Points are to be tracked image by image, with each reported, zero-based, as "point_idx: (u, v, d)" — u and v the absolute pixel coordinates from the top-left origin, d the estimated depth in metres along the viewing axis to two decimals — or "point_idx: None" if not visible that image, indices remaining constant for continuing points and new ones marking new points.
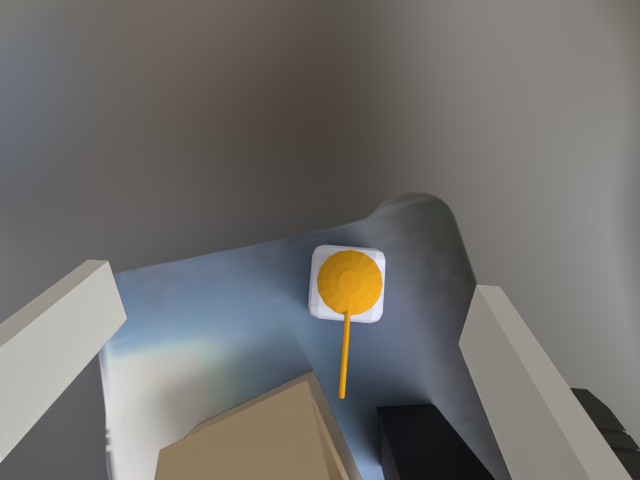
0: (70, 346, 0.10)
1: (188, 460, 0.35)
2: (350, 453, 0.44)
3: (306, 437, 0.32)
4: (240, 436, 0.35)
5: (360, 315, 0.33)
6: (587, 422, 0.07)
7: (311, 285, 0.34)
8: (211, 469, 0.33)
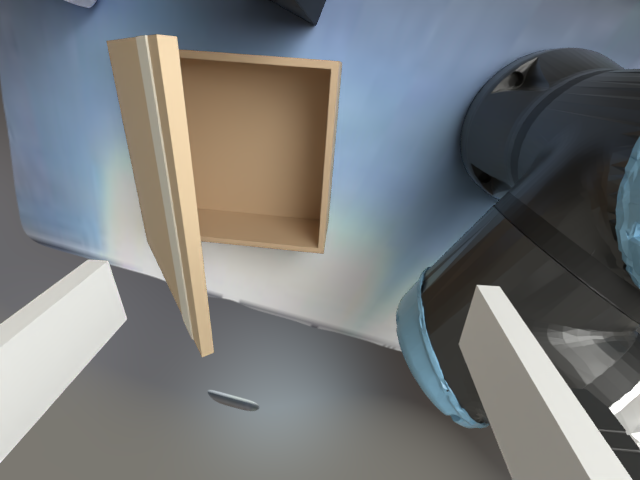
0: (70, 346, 0.10)
1: (145, 217, 0.31)
2: None
3: (120, 61, 0.23)
4: (133, 153, 0.28)
5: None
6: (588, 422, 0.07)
7: None
8: (144, 196, 0.29)
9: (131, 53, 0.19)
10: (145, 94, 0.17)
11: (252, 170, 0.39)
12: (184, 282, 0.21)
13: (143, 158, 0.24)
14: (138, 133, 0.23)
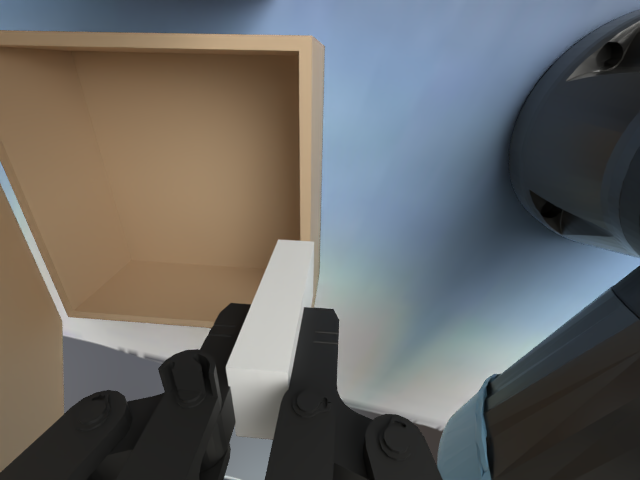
0: None
1: None
2: None
3: None
4: None
5: None
6: (298, 322, 0.09)
7: None
8: None
9: None
10: None
11: (206, 209, 0.27)
12: None
13: None
14: None
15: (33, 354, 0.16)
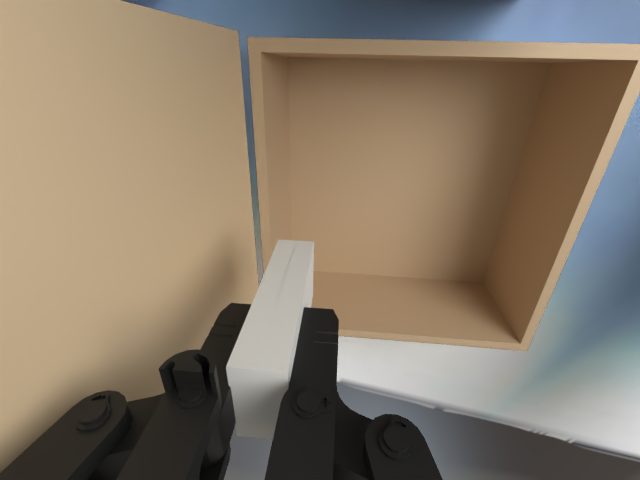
0: None
1: None
2: None
3: None
4: None
5: None
6: (298, 322, 0.09)
7: None
8: None
9: None
10: None
11: (388, 218, 0.27)
12: None
13: None
14: None
15: None
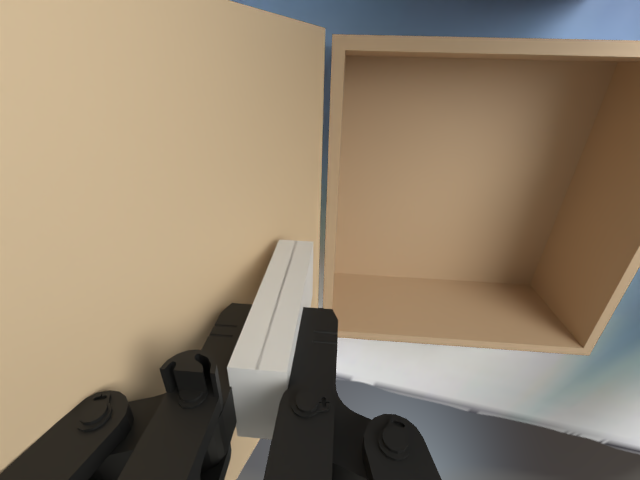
0: None
1: None
2: None
3: None
4: None
5: None
6: (297, 322, 0.09)
7: None
8: None
9: None
10: None
11: (437, 220, 0.26)
12: None
13: None
14: None
15: None
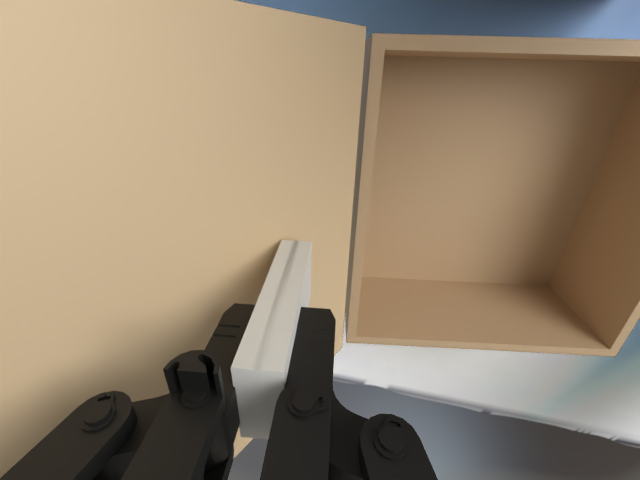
0: None
1: None
2: None
3: None
4: None
5: None
6: (295, 322, 0.09)
7: None
8: None
9: None
10: None
11: (457, 222, 0.26)
12: None
13: None
14: None
15: None
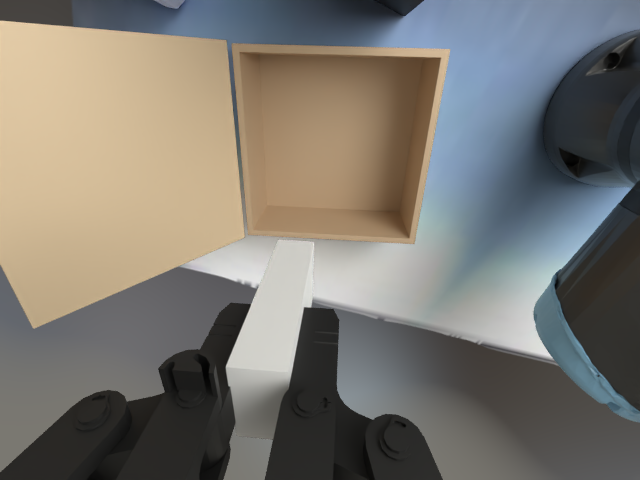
0: None
1: None
2: None
3: None
4: None
5: None
6: (298, 322, 0.09)
7: None
8: None
9: None
10: None
11: (331, 165, 0.39)
12: None
13: None
14: None
15: (159, 227, 0.28)
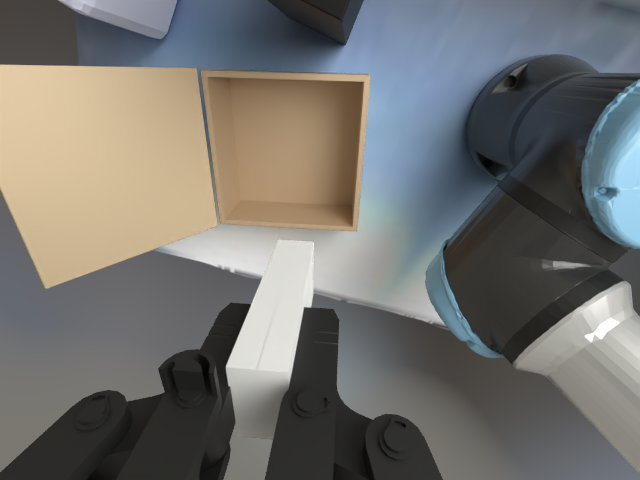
0: None
1: None
2: None
3: None
4: None
5: None
6: (298, 322, 0.09)
7: None
8: None
9: None
10: None
11: (292, 166, 0.46)
12: None
13: None
14: None
15: (143, 214, 0.35)
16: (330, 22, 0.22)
